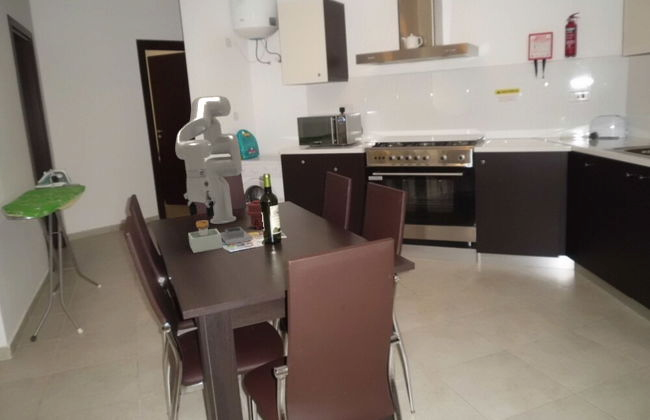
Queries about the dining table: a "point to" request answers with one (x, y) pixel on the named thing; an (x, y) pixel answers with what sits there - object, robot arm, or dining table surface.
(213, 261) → the dining table surface
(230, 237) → the white base with recess
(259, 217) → the mechanical component
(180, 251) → the dining table surface
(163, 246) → the dining table surface
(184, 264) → the dining table surface
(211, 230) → the bin
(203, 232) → the copper-capped metal peg
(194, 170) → the robot arm
